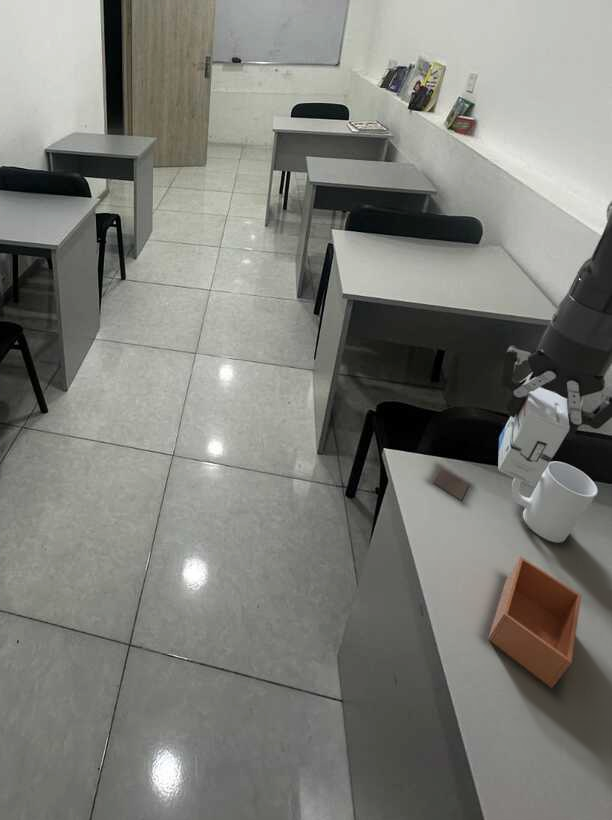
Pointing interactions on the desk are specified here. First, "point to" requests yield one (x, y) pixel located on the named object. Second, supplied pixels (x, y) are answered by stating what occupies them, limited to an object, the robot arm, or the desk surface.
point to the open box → (537, 621)
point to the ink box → (533, 436)
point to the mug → (556, 500)
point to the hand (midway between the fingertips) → (535, 424)
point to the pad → (451, 484)
